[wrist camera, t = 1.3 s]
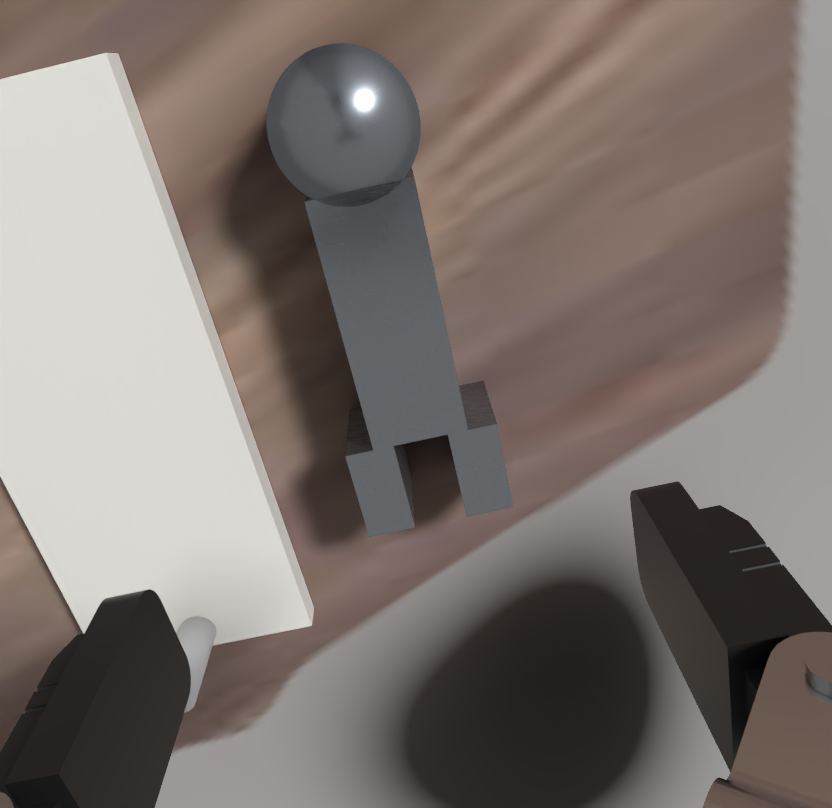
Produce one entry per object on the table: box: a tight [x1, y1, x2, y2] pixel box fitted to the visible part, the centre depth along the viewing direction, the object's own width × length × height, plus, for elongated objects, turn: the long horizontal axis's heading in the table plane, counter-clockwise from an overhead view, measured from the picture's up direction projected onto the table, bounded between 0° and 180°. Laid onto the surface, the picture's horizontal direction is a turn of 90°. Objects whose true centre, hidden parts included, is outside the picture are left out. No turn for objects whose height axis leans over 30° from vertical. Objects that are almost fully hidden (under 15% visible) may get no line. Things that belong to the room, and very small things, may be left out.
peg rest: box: [0, 53, 314, 713], centre depth 28 cm, size 24×10×5 cm, turn 12°
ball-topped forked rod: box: [267, 44, 513, 537], centre depth 26 cm, size 17×6×4 cm, turn 12°
